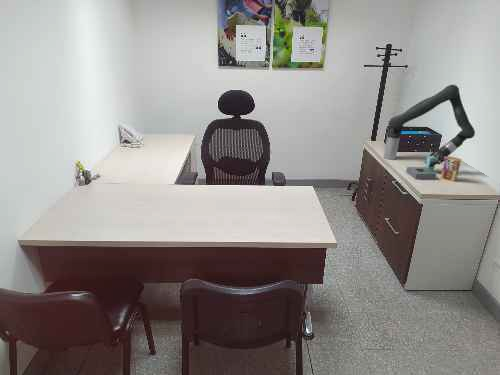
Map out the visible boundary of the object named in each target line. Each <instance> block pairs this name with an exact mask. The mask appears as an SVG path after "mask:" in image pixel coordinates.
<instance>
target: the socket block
mask: <svg viewBox="0 0 500 375" xmlns="http://www.w3.org/2000/svg"><path fill="white" fill-rule="evenodd" d="M405 173H406V174H408V175H409V176H410V177H411V178H413V179H414V180H436V177H437V173H436V172H434V171H431V170H430V169H428V168H427V167H425V166H407V167H406V170H405Z"/></svg>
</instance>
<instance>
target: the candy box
mask: <svg viewBox="0 0 500 375" xmlns="http://www.w3.org/2000/svg"><path fill="white" fill-rule="evenodd" d="M444 158H445V161H443V162H444V163H443V166H442V167H443V168H442V171H441V174H440V179H445V180H447V181H451V182H455V181H456V180H457V178H458V173H459V170H460V166H461V163H462V159H461V158H458V157H455V156H454V157H453V156H450V155H449V156H447V157H444Z"/></svg>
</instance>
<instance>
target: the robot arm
mask: <svg viewBox="0 0 500 375" xmlns="http://www.w3.org/2000/svg"><path fill="white" fill-rule="evenodd" d="M448 101H449V102H450V104H451V106H452V107H451V108H452V110H453V114H454V115H453V116H454V118H455V121H456V123H457V126H458V127H460V129H461V130H460V131H459V132H458V133H457V134H456V135H455V137H453V138H452V139H450V140H449V141H448V142H446V143H445V144H443V146H441V147H440V148H438V151H437V152H435V151H433V152H432V153H431V154H429V156H434V157H436V159H435V161H434V162H433V163H431V164H430V165H429V166H430V167H433V166H434V165H435V166H436V165H440V164H441V163H443V162H445V158H446V157H447V156H450V155H451V154H453V153H454V152H455V151H456V150H457V149H458V148H460V147H461V146H462V145H463V143H464V142H465V141H467V139H472V138H474V136H475V134H476V131H475V129H474V127H473V125H472V124H471V122H470V121H469V118H468V114H467V112H466V109H465V108H464V106H463V103H462V99H461V94H460V89H459V86H457V85H456V84H449V85H447V86H446V87H445V88H443V89H442V90H440V91H438V93H436V94H434V95H432V96H430V97H427V98H425V99H423V100H422V101H421V100H420V101H419V102H418V103H416V104H414V105H413V106H412V107H410V108H409V109H407V110H406V111H404V112H403V113H400V114H399V115H396V116H393V117H392V118H390V119H389V121H388V126H389V127H388V128H389V131H388V133H387V137H386V143H385V148H384V153H383V158H384V159H385V160H392V161H393V160H396V159H397V154H398V149H399V145H400V140H401V139H400V138H401V134H402V132H403V128H404V125H405V124H406V123H408V122H411V121H412V120H415V119H417V118H420V117H421V116H424V115H425V114H427V113H429V112H430V111H432V110H434V109H435V108H436V107H437V106H439V105H441V104H443V103H445V102H448ZM424 164H426V160H425V161H424Z"/></svg>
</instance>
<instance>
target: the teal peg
mask: <svg viewBox="0 0 500 375" xmlns="http://www.w3.org/2000/svg"><path fill="white" fill-rule="evenodd" d="M435 159H436V157H434V156H430V155H427V157H426V160H425V161H426V163H425V166H424V167H427V168H428V169H430V170H431V171H433V172H434V170H435V166H436V164H435V165H434V166H433V167H430V166H429V165H430V164H431V163H433V162H434V161H435Z"/></svg>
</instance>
